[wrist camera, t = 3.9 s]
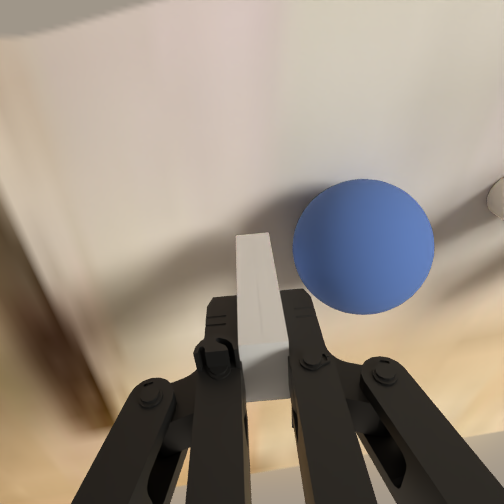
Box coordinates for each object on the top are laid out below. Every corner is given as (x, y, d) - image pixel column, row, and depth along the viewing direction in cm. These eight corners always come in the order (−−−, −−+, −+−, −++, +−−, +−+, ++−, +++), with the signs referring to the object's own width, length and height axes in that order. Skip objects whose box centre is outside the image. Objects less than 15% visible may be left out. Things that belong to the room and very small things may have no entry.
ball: (413, 332, 12) (488, 260, 15) (323, 175, 12) (415, 137, 15) (309, 345, 17) (381, 290, 20) (248, 235, 17) (328, 197, 20)
